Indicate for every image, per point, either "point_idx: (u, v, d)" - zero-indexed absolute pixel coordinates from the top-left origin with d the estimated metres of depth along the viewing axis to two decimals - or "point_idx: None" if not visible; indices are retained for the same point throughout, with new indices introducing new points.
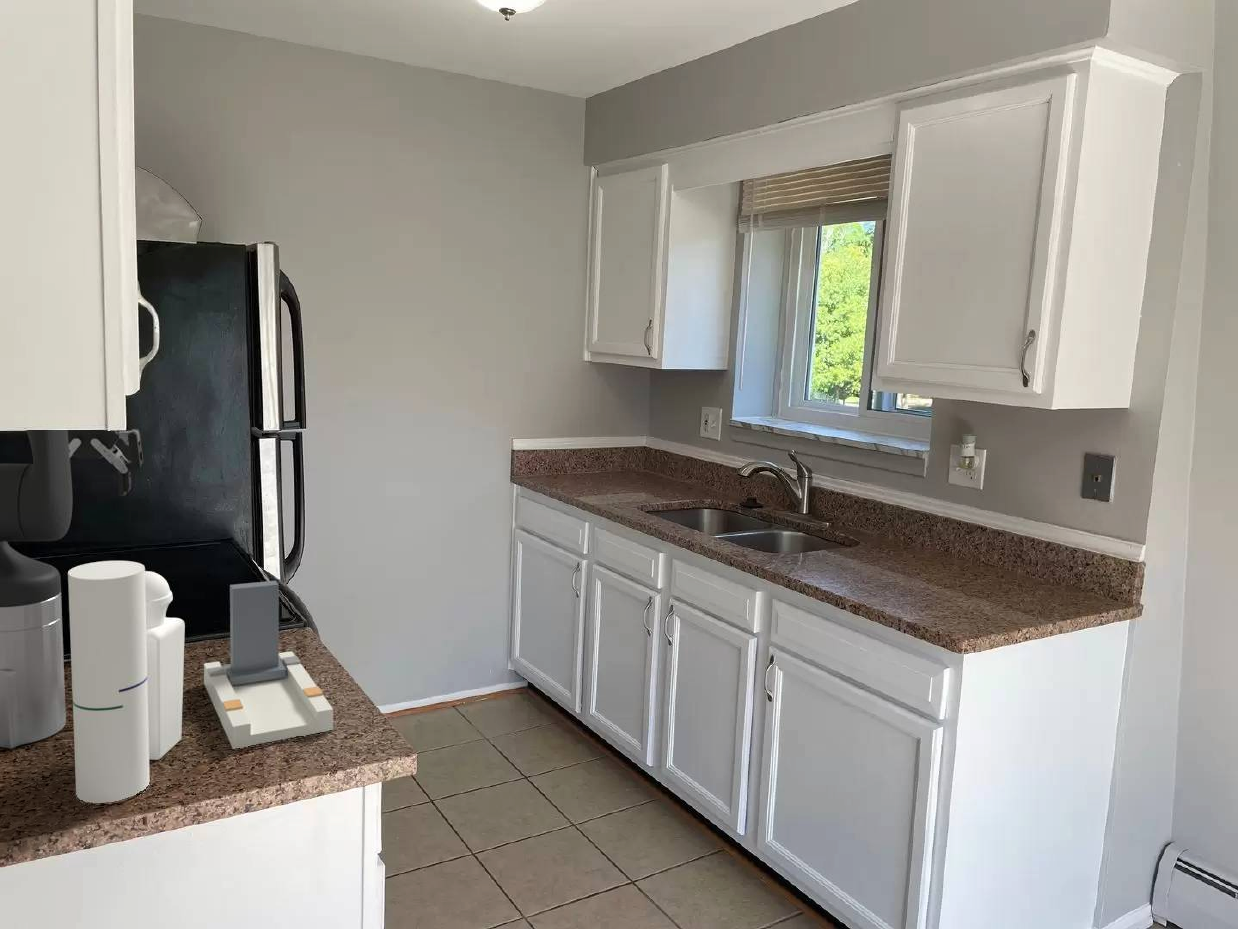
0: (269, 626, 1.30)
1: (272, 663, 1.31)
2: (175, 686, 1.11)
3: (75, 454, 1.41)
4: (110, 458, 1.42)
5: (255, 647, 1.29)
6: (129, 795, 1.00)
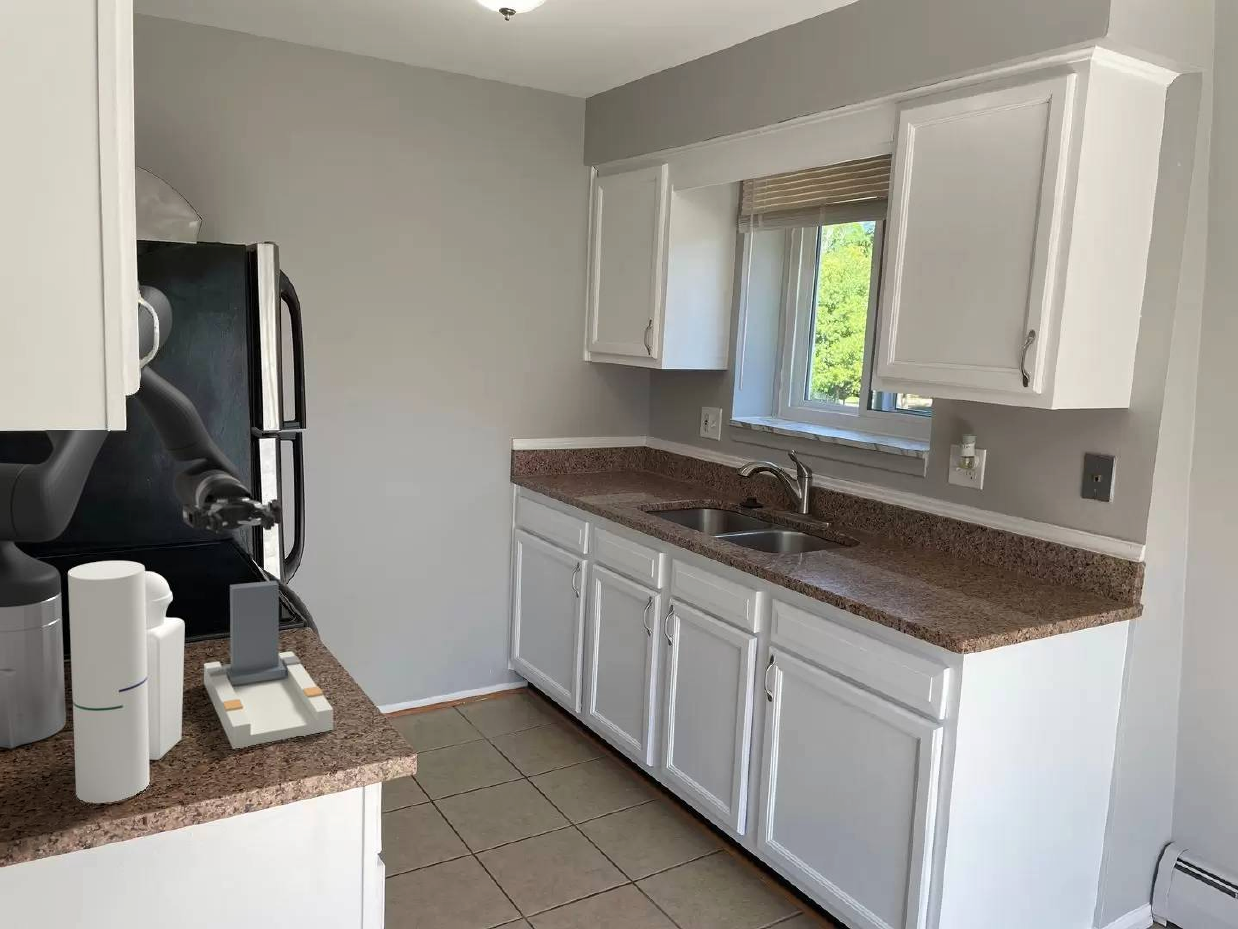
0: (269, 626, 1.30)
1: (272, 663, 1.31)
2: (175, 686, 1.11)
3: (225, 507, 1.38)
4: (254, 502, 1.39)
5: (255, 647, 1.29)
6: (129, 795, 1.00)
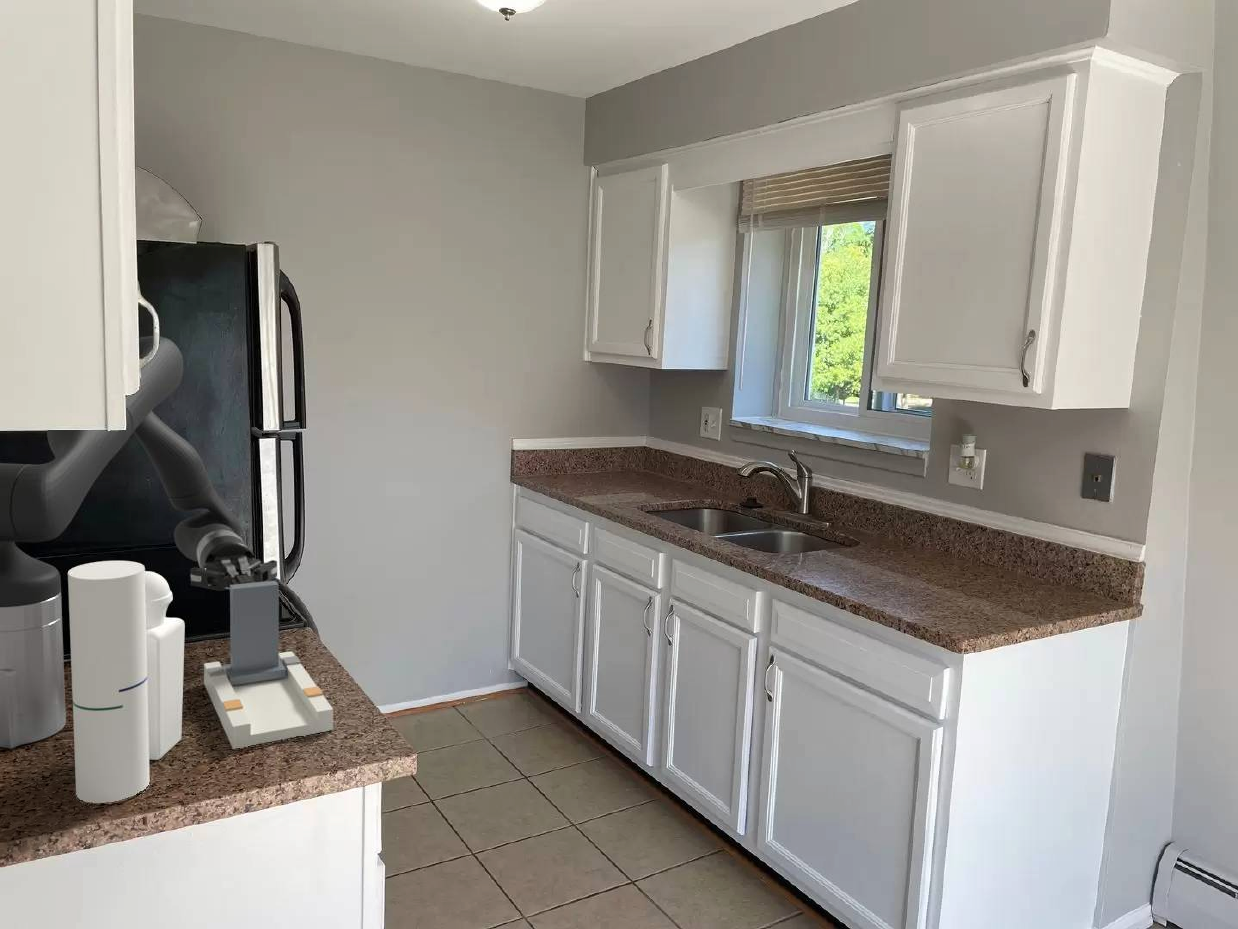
0: (269, 626, 1.30)
1: (272, 663, 1.31)
2: (175, 686, 1.11)
3: (234, 567, 1.41)
4: (243, 564, 1.40)
5: (255, 647, 1.29)
6: (129, 795, 1.00)
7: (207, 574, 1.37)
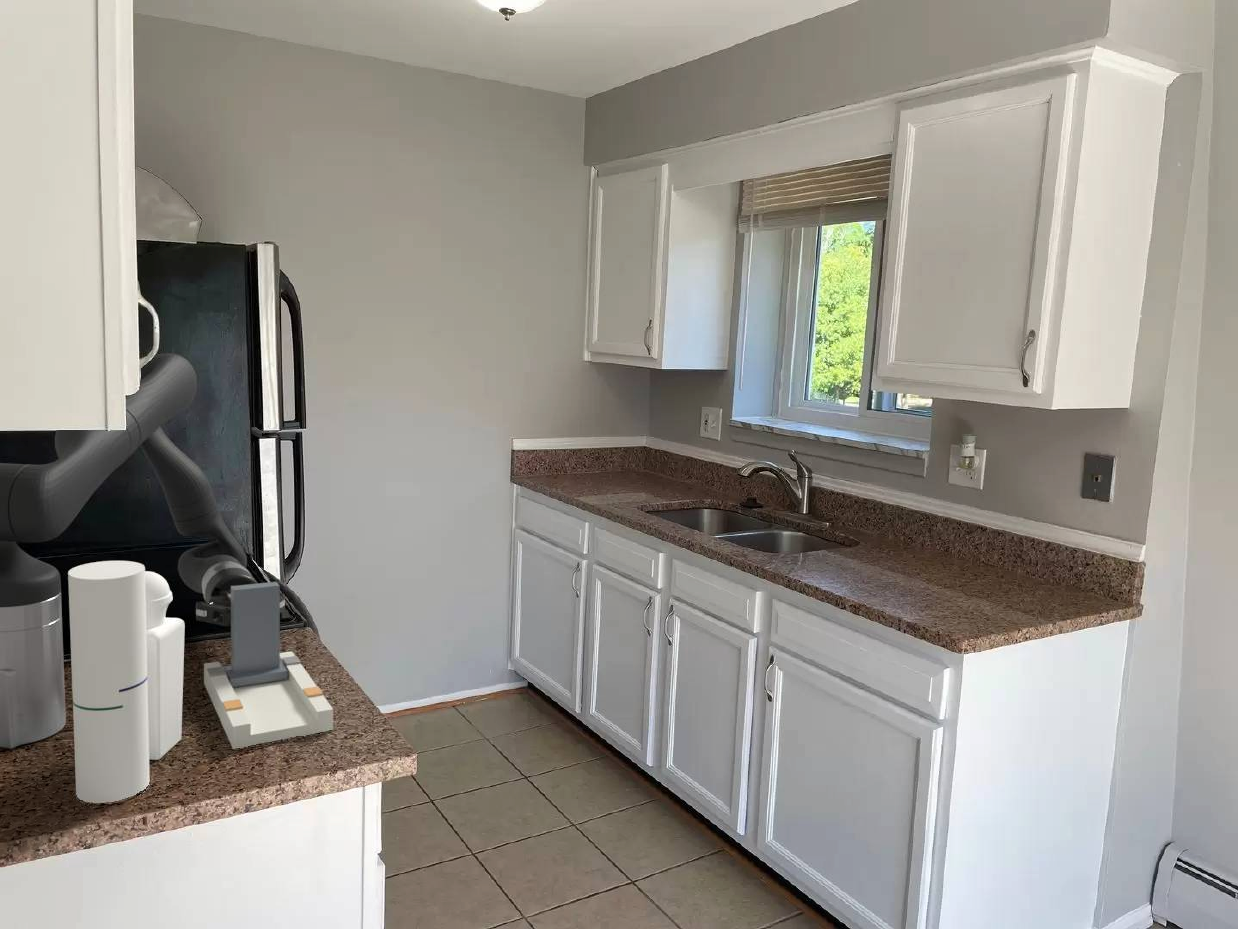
0: (270, 627, 1.29)
1: (273, 664, 1.30)
2: (175, 686, 1.11)
3: None
4: None
5: (256, 648, 1.29)
6: (129, 795, 1.00)
7: (213, 609, 1.32)
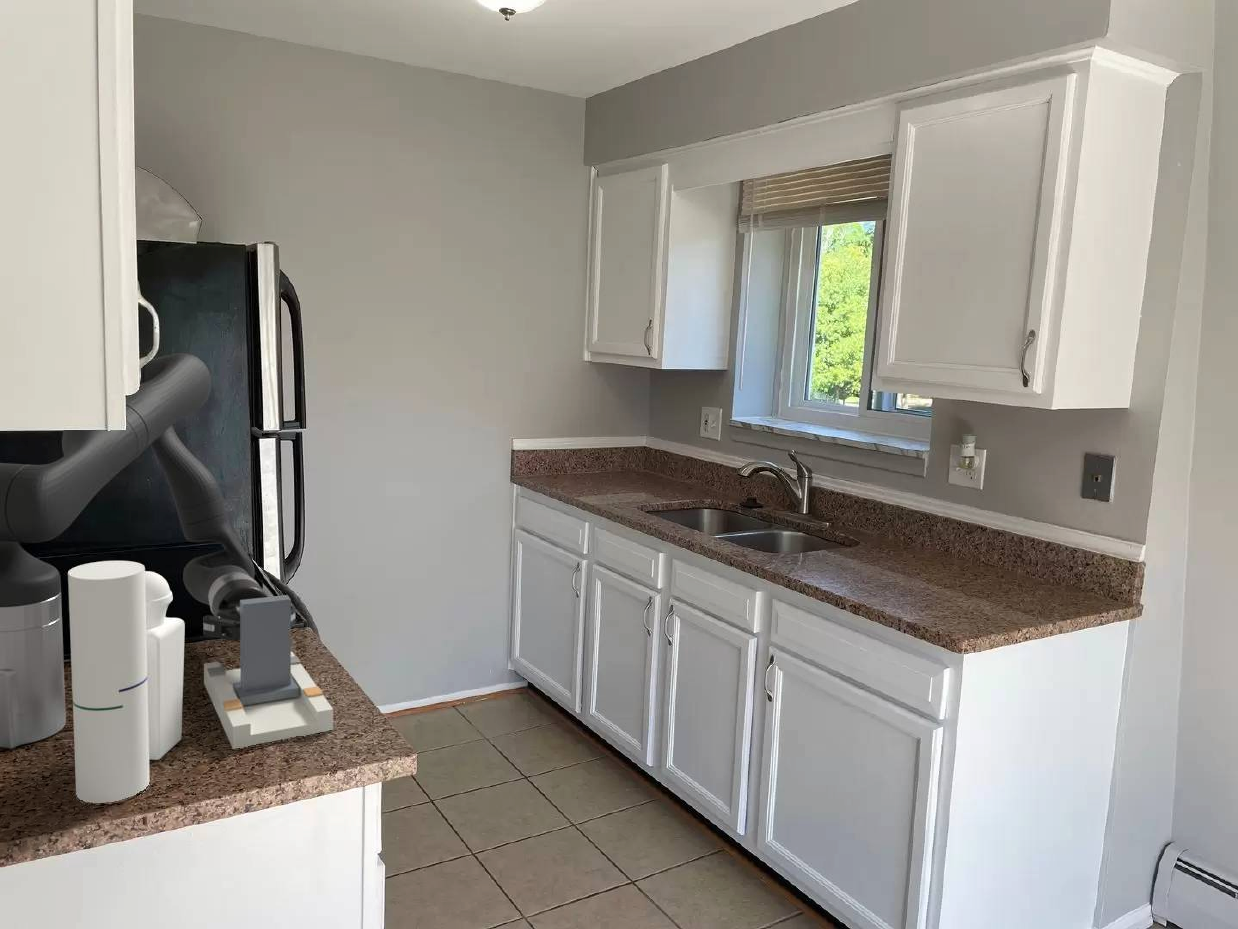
0: (281, 643, 1.24)
1: (284, 681, 1.25)
2: (175, 686, 1.11)
3: None
4: None
5: (266, 665, 1.23)
6: (129, 795, 1.00)
7: (221, 623, 1.27)
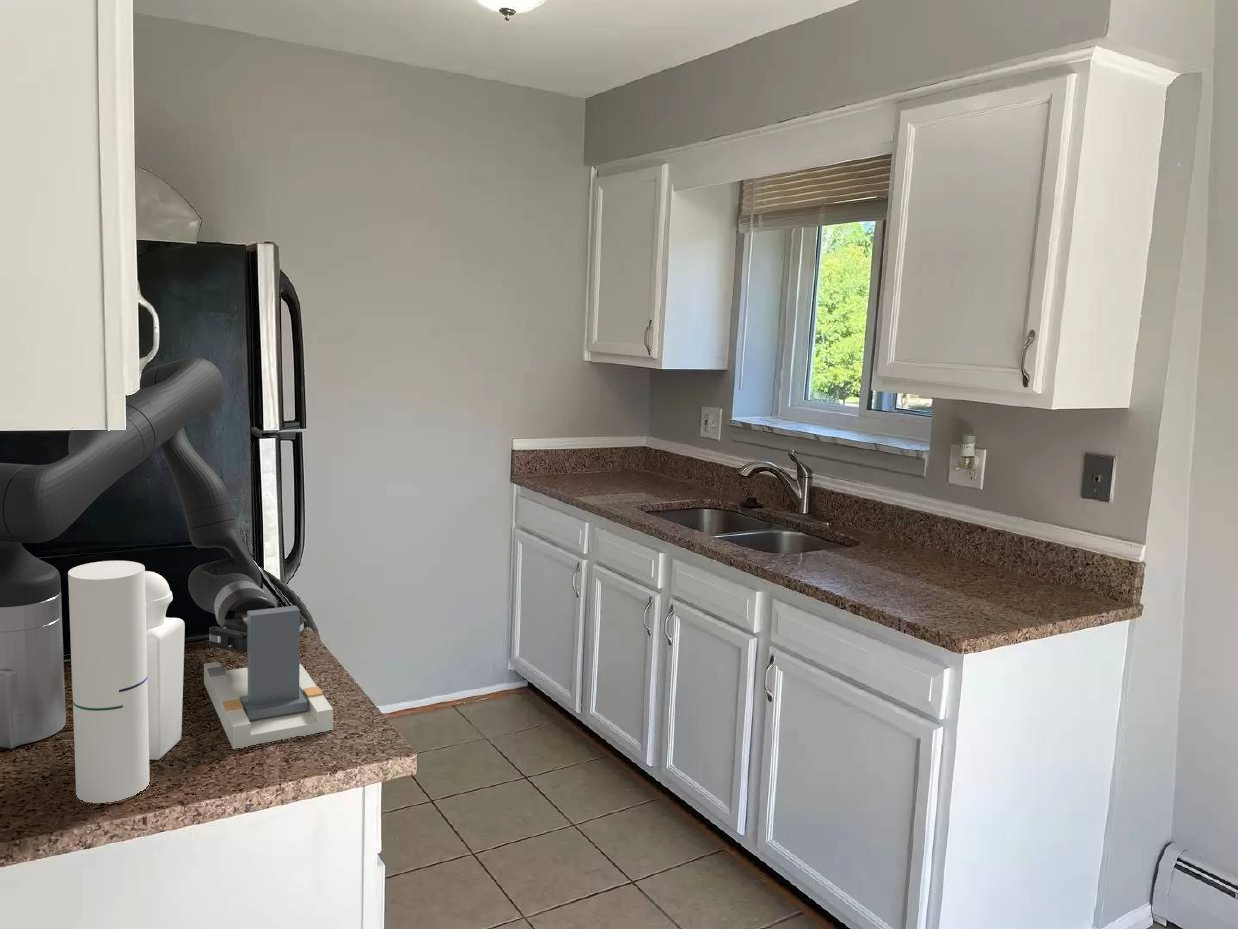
0: (289, 655, 1.20)
1: (292, 695, 1.21)
2: (175, 686, 1.11)
3: None
4: None
5: (275, 678, 1.19)
6: (129, 795, 1.00)
7: (227, 634, 1.23)
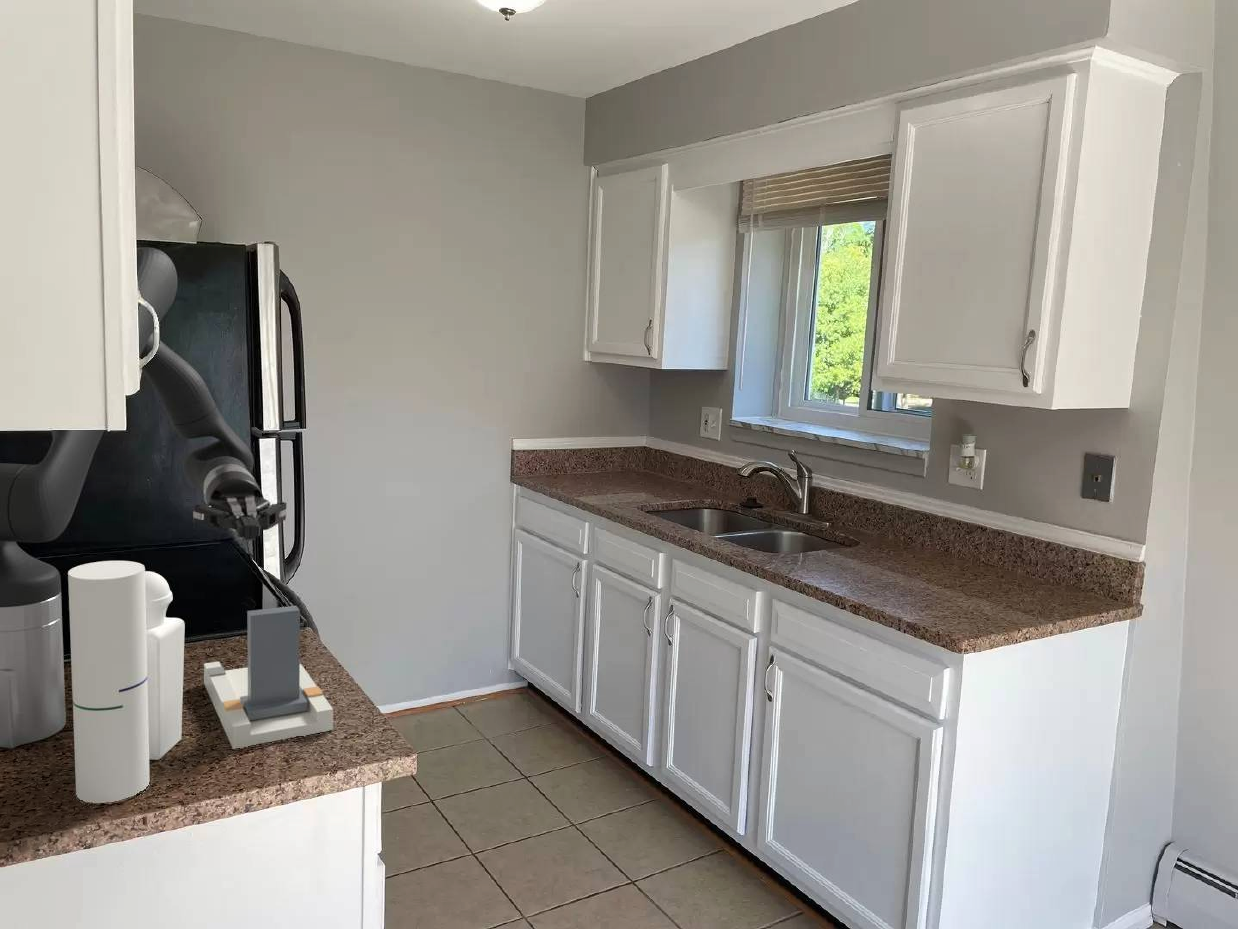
0: (289, 655, 1.20)
1: (292, 695, 1.21)
2: (175, 686, 1.11)
3: (240, 507, 1.31)
4: (250, 505, 1.30)
5: (275, 678, 1.19)
6: (129, 795, 1.00)
7: (210, 512, 1.27)
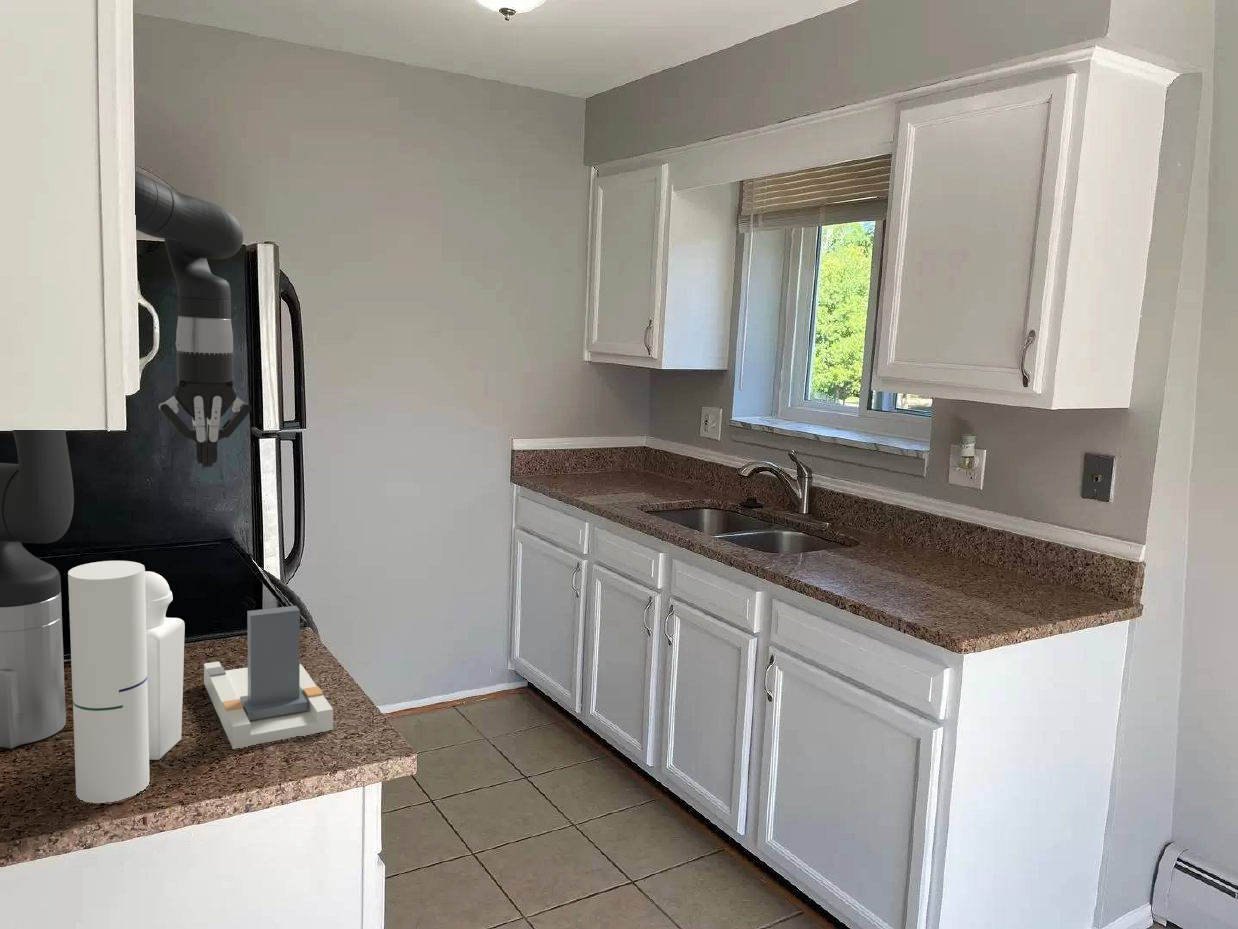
0: (289, 655, 1.20)
1: (292, 695, 1.21)
2: (175, 686, 1.11)
3: (205, 412, 1.36)
4: (214, 421, 1.36)
5: (275, 678, 1.19)
6: (129, 795, 1.00)
7: (175, 426, 1.34)
